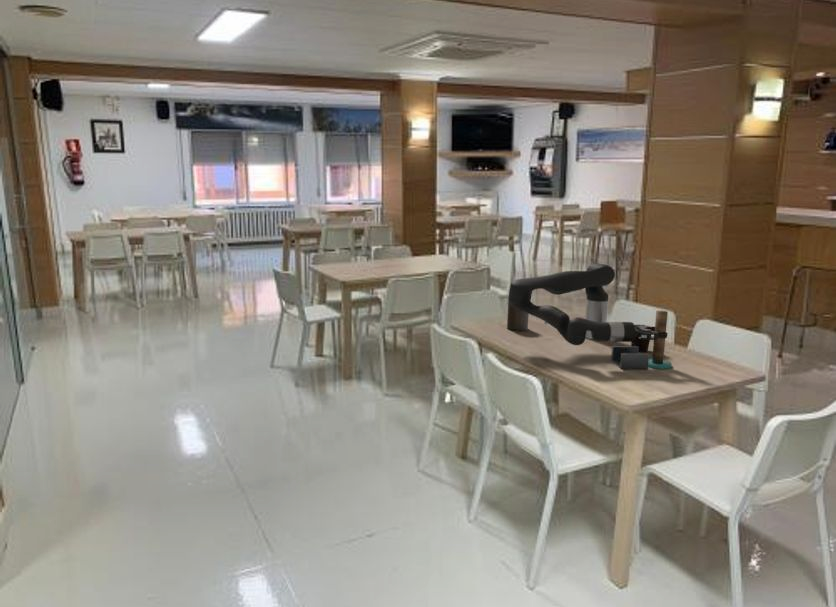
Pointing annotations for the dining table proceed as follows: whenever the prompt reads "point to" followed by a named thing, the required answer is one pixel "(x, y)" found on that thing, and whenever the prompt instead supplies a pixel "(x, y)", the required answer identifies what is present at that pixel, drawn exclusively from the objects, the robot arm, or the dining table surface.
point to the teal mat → (659, 365)
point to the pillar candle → (516, 319)
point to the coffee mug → (641, 343)
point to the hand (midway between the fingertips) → (662, 332)
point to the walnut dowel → (660, 342)
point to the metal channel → (629, 358)
